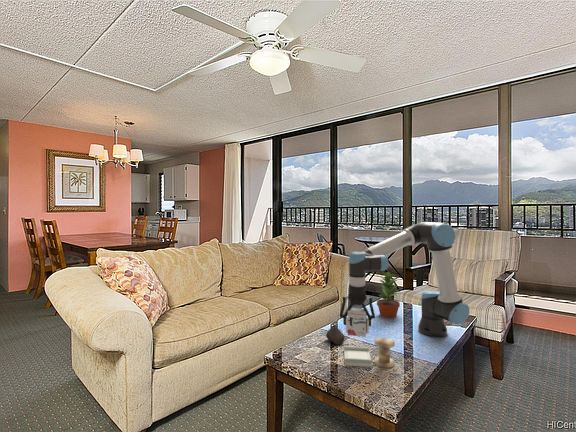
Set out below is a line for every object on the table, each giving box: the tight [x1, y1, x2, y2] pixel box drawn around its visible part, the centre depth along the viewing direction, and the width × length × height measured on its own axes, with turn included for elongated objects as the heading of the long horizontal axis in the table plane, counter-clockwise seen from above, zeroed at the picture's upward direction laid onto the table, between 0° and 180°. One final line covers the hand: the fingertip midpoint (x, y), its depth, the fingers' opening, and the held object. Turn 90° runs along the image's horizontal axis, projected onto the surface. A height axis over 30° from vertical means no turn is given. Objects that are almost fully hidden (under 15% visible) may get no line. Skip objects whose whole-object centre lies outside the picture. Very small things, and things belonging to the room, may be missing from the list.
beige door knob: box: [373, 337, 396, 369], centre depth 149 cm, size 9×9×10 cm
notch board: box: [343, 345, 373, 368], centre depth 154 cm, size 12×15×3 cm
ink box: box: [347, 307, 368, 338], centre depth 153 cm, size 8×5×12 cm, turn 73°
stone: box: [325, 326, 345, 346], centre depth 174 cm, size 10×8×10 cm
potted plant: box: [376, 270, 401, 319], centre depth 213 cm, size 15×15×30 cm
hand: (357, 332), depth 153 cm, fingers closed on ink box, 9 cm apart
